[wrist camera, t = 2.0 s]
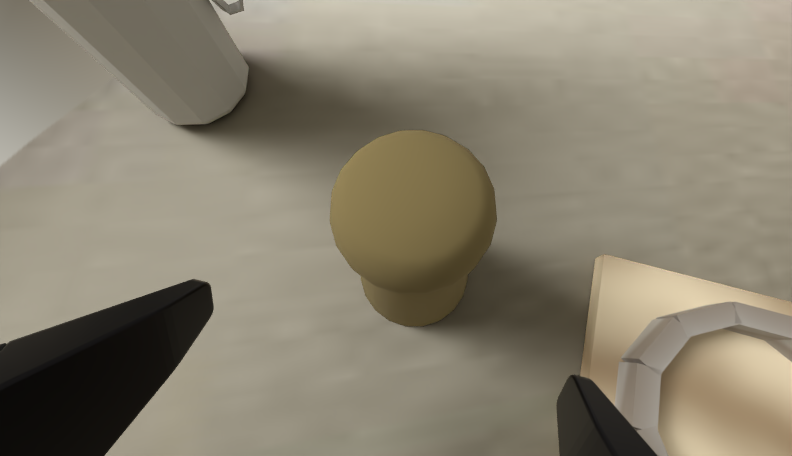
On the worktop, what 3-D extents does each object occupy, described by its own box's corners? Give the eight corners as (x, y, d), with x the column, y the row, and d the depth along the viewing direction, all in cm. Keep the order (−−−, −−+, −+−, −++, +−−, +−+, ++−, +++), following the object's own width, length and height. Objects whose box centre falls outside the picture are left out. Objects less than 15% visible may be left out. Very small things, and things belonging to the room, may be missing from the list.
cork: (472, 229, 21) (530, 107, 10) (461, 335, 19) (518, 319, 8) (371, 215, 21) (329, 87, 11) (351, 317, 19) (276, 280, 9)
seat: (894, 653, 14) (992, 715, 12) (559, 530, 16) (585, 561, 13) (861, 327, 18) (929, 324, 15) (595, 258, 20) (619, 246, 17)
